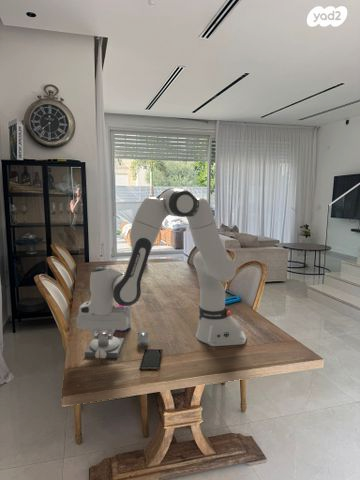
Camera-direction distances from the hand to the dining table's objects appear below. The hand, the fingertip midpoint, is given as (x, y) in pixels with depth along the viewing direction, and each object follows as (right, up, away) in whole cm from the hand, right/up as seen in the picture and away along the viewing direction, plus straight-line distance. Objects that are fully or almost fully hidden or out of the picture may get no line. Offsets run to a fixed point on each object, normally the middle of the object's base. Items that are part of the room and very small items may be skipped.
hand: (103, 338), depth 132 cm
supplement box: (+4, -3, +24) cm, 24 cm away
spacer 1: (0, -2, 0) cm, 3 cm away
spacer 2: (+15, -5, +8) cm, 18 cm away
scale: (0, -7, +4) cm, 7 cm away
